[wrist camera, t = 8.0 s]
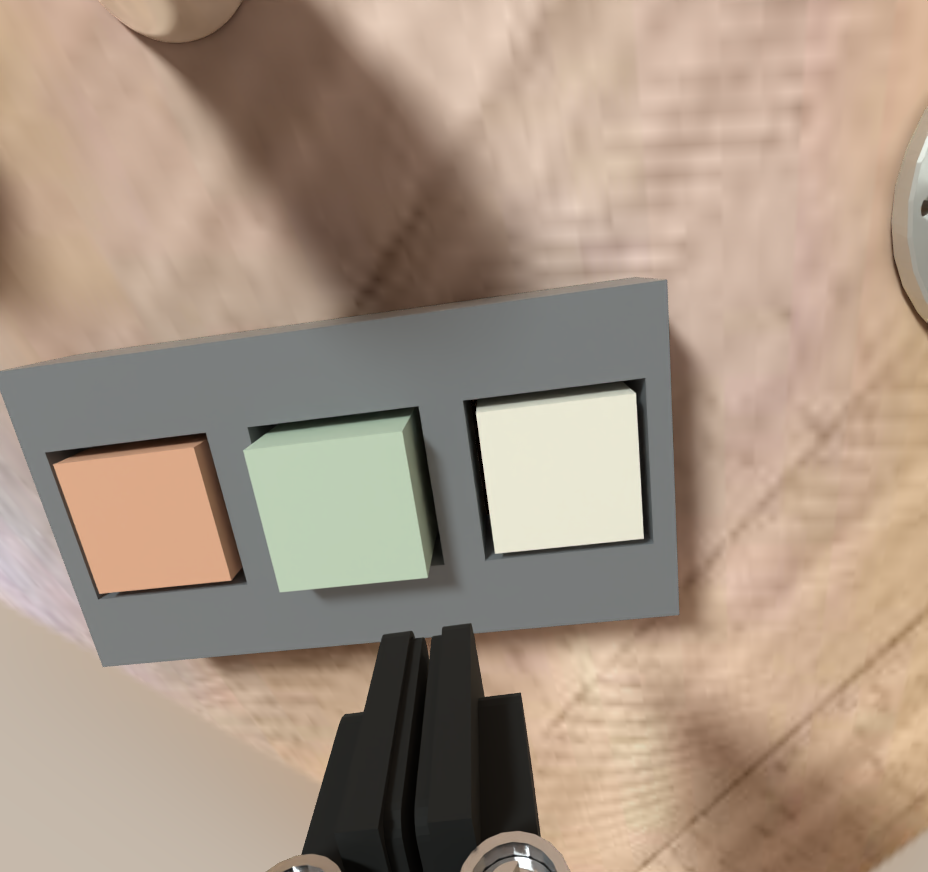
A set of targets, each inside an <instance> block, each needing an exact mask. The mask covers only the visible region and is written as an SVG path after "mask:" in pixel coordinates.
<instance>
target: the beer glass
mask: <svg viewBox="0 0 928 872" xmlns="http://www.w3.org/2000/svg"><path fill="white" fill-rule="evenodd" d="M98 1H99V2H100V3H101V4H102V5H103V6H104V7H105V8H106V9H107V10H108V11H109V12H110V13H111V14H112V15H113V16H114V17H115V18H117V19H118V20H119V21H120V22H122V23H123V24H124V25H126V26H127V27H129V28H130V29H132V30H133V31H135V32H137V33H139V34H141V35H143V36H146V37H148V38H151V39H154V40H158V41H163V42H169V43H183V42H190V41H195V40H198V39H201V38H204V37H206V36H208V35H210V34H212V33H214V32H215V31H217V30H218V29H219V28H221V27H222V26H223V25H224V24H225V23H226V22H227V21H228V20H229V19H230V18H231V17H232V16H233V14H234V13H235V12H236V10H237V9H238V7H239V6H240V4H241V2H242V0H98Z"/></svg>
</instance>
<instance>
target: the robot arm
mask: <svg viewBox="0 0 928 872" xmlns="http://www.w3.org/2000/svg"><path fill="white" fill-rule="evenodd" d="M921 208H922V209H921ZM891 225H892V238H893V251H894V258H895V261H896V265H897V268H898V272H899V275H900V278H901V282H902V285H903V288H904V289H905V291H906V293H907V295H908V296H909V298H910V300H911V302H912V304H913V305H914V307H915V309H916V311H917V312H918V314H919V315H920V316H921V317H922V318H923V319H924V320H925V321H926V322H927V323H928V106H927V107H926V109H925V110H924V113H923V115H922V117H921V119H920V121H919V123H918V125H917V127H916V129H915V131H914V133H913V135H912V137H911V140H910V142H909V144H908V146H907V148H906V151H905V155H904V158H903V161H902V165H901V168H900V172H899V175H898V178H897V182H896V185H895V193H894V202H893V211H892V219H891ZM267 872H570V870H569V868H568V866H567V864H566V862H565V860H564V858H563V856H562V854H561V853H560V852H559V851H558V850H557V849H556V848H555V847H554V846H553V845H552V844H551V843H550V842H549V841H547V840H545V839H543V838H541V835H540V827H539V819H538V811H537V804H536V796H535V788H534V780H533V773H532V765H531V758H530V751H529V744H528V737H527V730H526V723H525V717H524V710H523V703H522V697H521V693H514V694H506V695H498V696H490V697H484V691H483V685H482V679H481V673H480V668H479V662H478V656H477V650H476V644H475V638H474V633H473V627H472V624H471V623H467V624H459V625H451V626H444V627H442V635H437V636H432V640H431V649H430V659H429V655H428V650H427V645H426V641H425V638H424V637H421V638H415V635H414V633H413V631H405V632H397V633H390V634H384V635H383V636H382V638H381V642H380V647H379V651H378V655H377V659H376V663H375V667H374V671H373V676H372V680H371V684H370V688H369V692H368V696H367V700H366V705H365V709H364V712H360V713H352V714H345V715H344V716H343V717H342V719H341V721H340V724H339V727H338V730H337V733H336V737H335V740H334V744H333V747H332V751H331V754H330V758H329V761H328V765H327V768H326V771H325V775H324V778H323V782H322V785H321V789H320V792H319V796H318V799H317V803H316V806H315V809H314V813H313V816H312V820H311V823H310V827H309V830H308V834H307V837H306V840H305V844H304V847H303V851H302V854H301V855H298V856H294V857H292V858H289V859H287V860H284V861H282V862H280V863H278V864H277V865H275V866H274V867H272V868H271V869H269V870H268V871H267Z"/></svg>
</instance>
